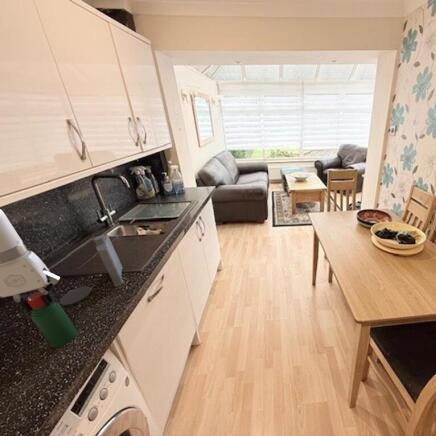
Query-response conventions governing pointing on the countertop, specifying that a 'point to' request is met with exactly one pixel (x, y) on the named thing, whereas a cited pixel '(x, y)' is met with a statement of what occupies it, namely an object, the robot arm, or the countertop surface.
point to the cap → (35, 300)
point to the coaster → (75, 296)
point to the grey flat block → (109, 258)
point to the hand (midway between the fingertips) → (41, 305)
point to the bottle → (54, 324)
